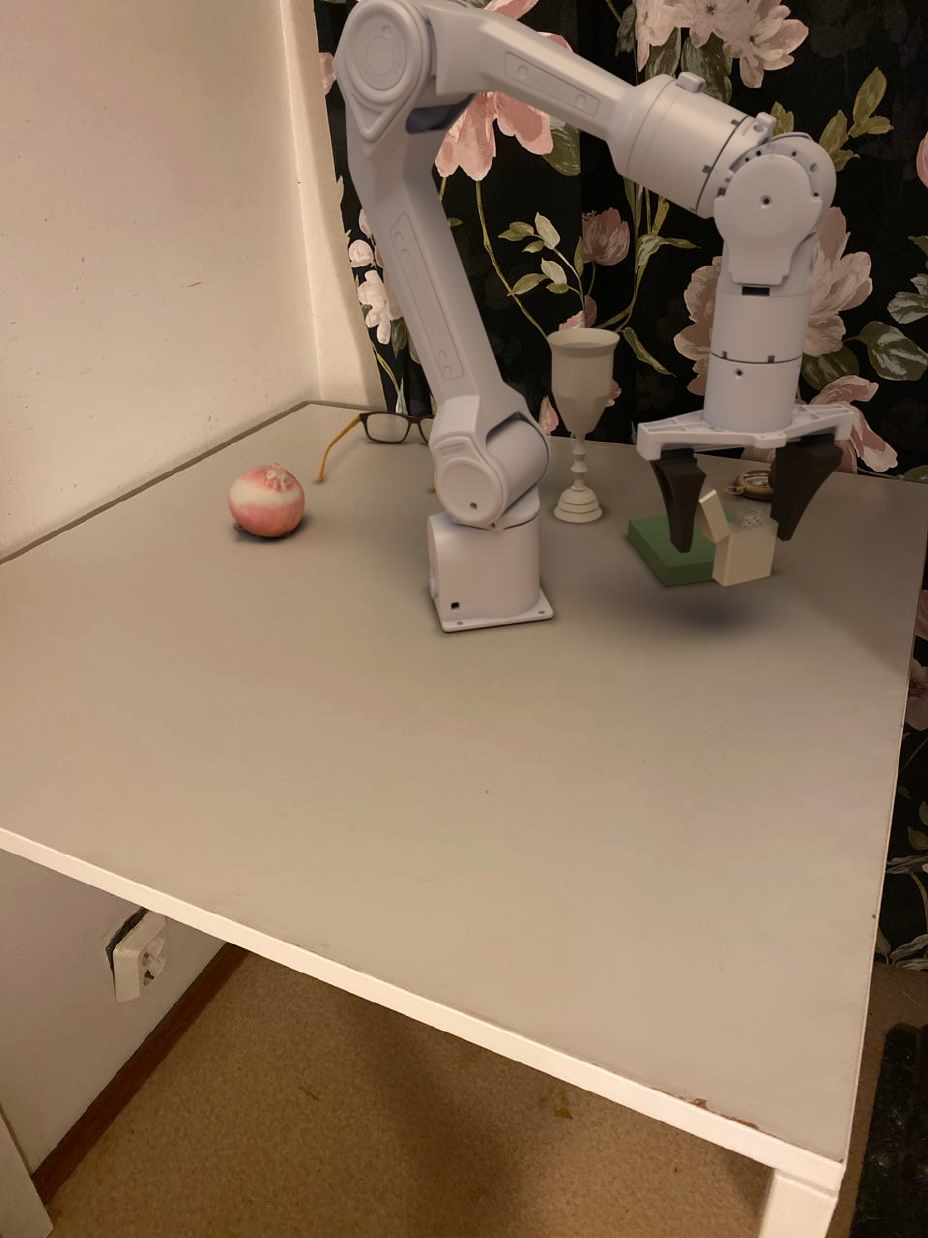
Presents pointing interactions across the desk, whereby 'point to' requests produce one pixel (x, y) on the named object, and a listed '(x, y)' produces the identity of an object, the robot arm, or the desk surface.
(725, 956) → the desk surface
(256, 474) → the onion
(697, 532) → the block
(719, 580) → the lighter
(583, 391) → the chalice
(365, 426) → the eyeglasses
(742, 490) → the compass
